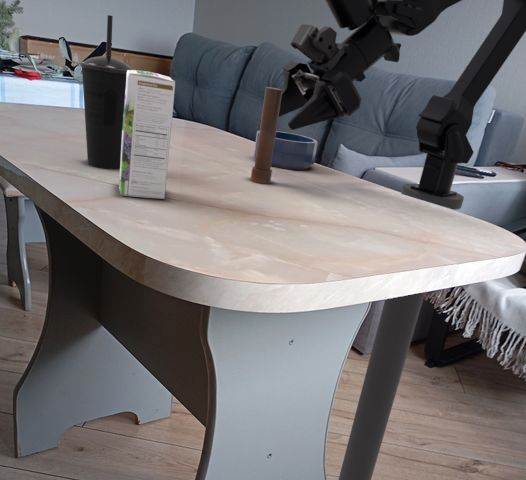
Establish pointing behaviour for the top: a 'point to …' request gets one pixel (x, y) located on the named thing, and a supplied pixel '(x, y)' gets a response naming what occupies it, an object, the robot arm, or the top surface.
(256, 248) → the top surface
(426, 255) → the top surface
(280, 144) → the bowl
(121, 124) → the drinking cup
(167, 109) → the syrup box
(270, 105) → the rod
